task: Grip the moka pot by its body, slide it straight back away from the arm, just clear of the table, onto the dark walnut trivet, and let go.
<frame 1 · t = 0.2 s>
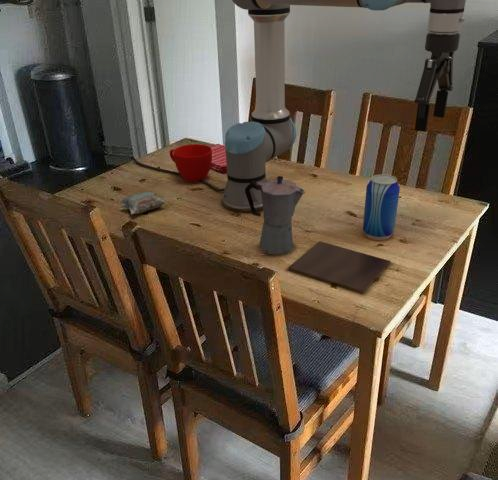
hand: (429, 123, 138), 28 cm above the table, tool pointing down, fingers open, 13 cm apart
moka pot: (274, 248, 144), on the table
walnut trivet: (339, 266, 134), on the table
dish towel: (221, 160, 201), on the table
ceramic cup: (190, 177, 188), on the table
packaged food: (144, 210, 166), on the table
beer can: (377, 234, 148), on the table
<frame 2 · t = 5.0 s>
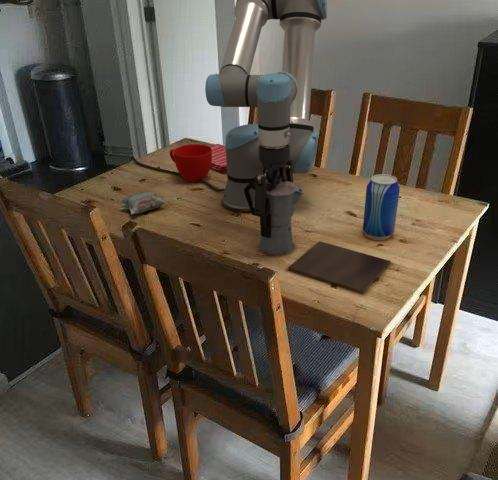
hand: (275, 229, 141), 5 cm above the table, tool pointing down, fingers closed on moka pot, 8 cm apart
moka pot: (274, 247, 144), on the table, touching gripper
everything else where it was.
when the fingers open (6 cm above the table, at t = 11.1 s): moka pot stays where it is, resting on walnut trivet.
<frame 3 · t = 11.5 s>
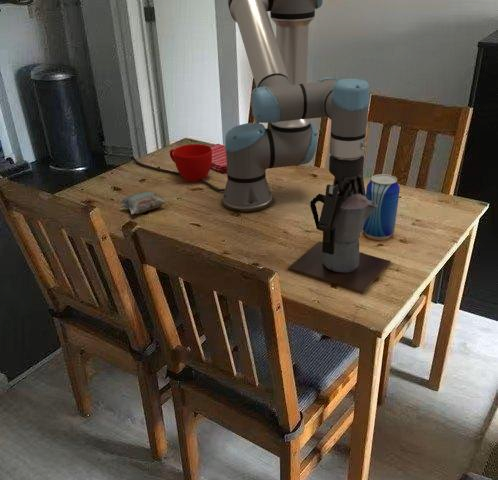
hand: (341, 241, 130), 7 cm above the table, tool pointing down, fingers open, 12 cm apart
moka pot: (339, 265, 134), point 1 cm above the table, touching walnut trivet
everything else where it was.
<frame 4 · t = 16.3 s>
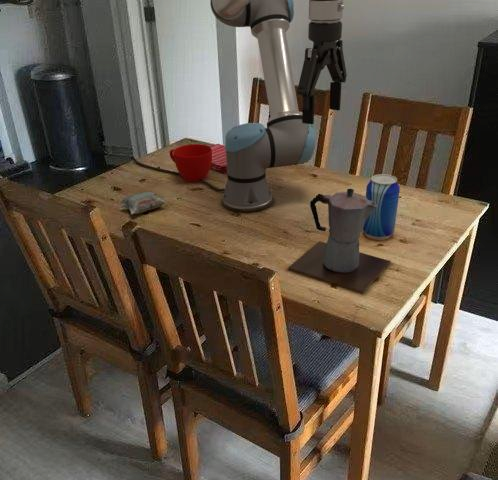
hand: (321, 116, 133), 32 cm above the table, tool pointing down, fingers open, 13 cm apart
nothing on the table moved.
at the end: moka pot inside the target area on the walnut trivet (0.2 cm from its centre), point 0.6 cm above the walnut trivet's base; moka pot tilted 0°; the gripper is holding nothing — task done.
